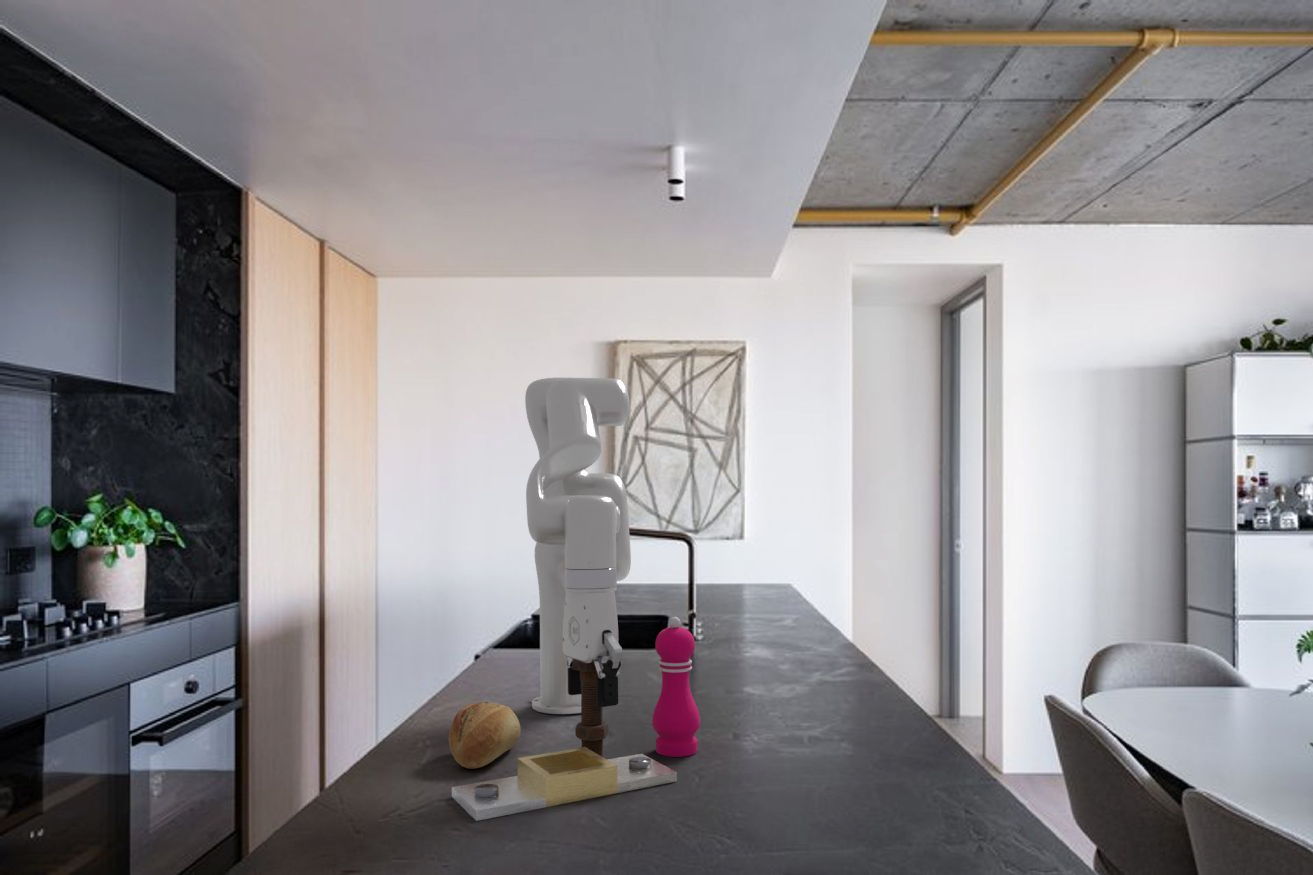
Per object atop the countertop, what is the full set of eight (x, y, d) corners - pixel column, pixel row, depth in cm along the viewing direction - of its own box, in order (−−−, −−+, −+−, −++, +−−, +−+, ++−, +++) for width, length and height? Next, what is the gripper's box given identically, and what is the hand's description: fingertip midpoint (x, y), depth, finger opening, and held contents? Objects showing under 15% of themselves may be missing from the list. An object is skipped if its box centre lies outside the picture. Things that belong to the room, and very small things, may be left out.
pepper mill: (706, 746, 140) (704, 614, 141) (692, 760, 133) (690, 621, 134) (661, 742, 142) (659, 612, 143) (645, 755, 135) (644, 619, 136)
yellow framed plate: (451, 796, 119) (451, 769, 119) (641, 761, 132) (641, 737, 133) (476, 820, 110) (476, 791, 110) (677, 781, 124) (676, 754, 124)
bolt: (604, 768, 130) (603, 661, 130) (569, 766, 131) (569, 660, 131) (614, 756, 135) (613, 653, 136) (581, 754, 136) (580, 652, 137)
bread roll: (433, 774, 129) (433, 716, 129) (470, 743, 143) (469, 692, 144) (499, 776, 127) (499, 717, 128) (529, 745, 142) (529, 693, 142)
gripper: (544, 578, 140) (545, 692, 138) (592, 586, 125) (594, 714, 123) (589, 575, 143) (590, 687, 142) (641, 583, 128) (643, 707, 127)
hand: (592, 699), depth 133 cm, fingers open, 9 cm apart
